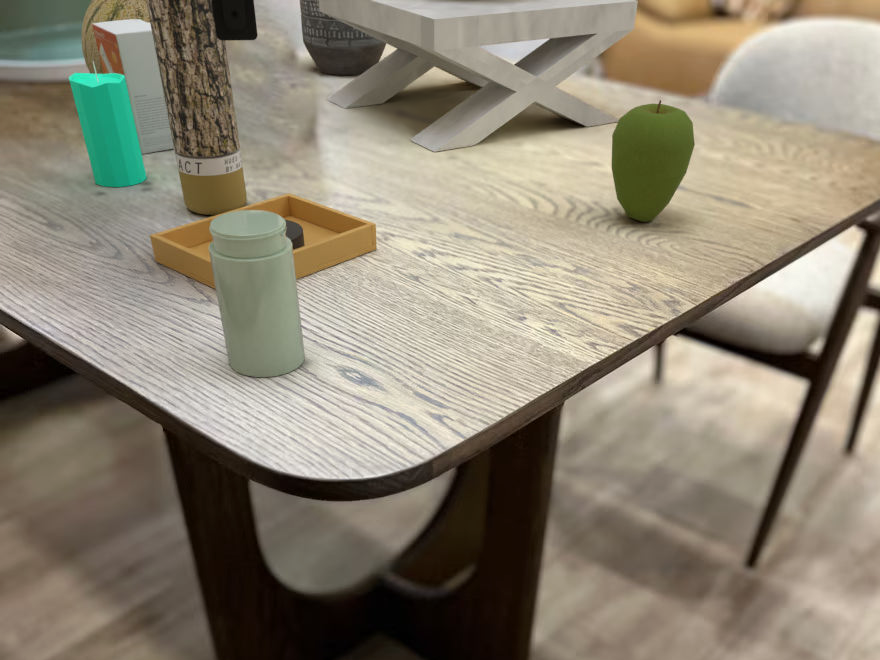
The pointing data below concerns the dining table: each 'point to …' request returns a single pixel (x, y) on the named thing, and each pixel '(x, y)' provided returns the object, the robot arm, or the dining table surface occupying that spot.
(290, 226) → the lid
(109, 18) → the cantaloupe
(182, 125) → the paper tube
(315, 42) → the planter
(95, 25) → the small box
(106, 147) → the candle
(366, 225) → the tray
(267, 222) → the jar
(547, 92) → the x-leg display riser
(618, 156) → the apple
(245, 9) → the robot arm
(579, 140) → the dining table surface
